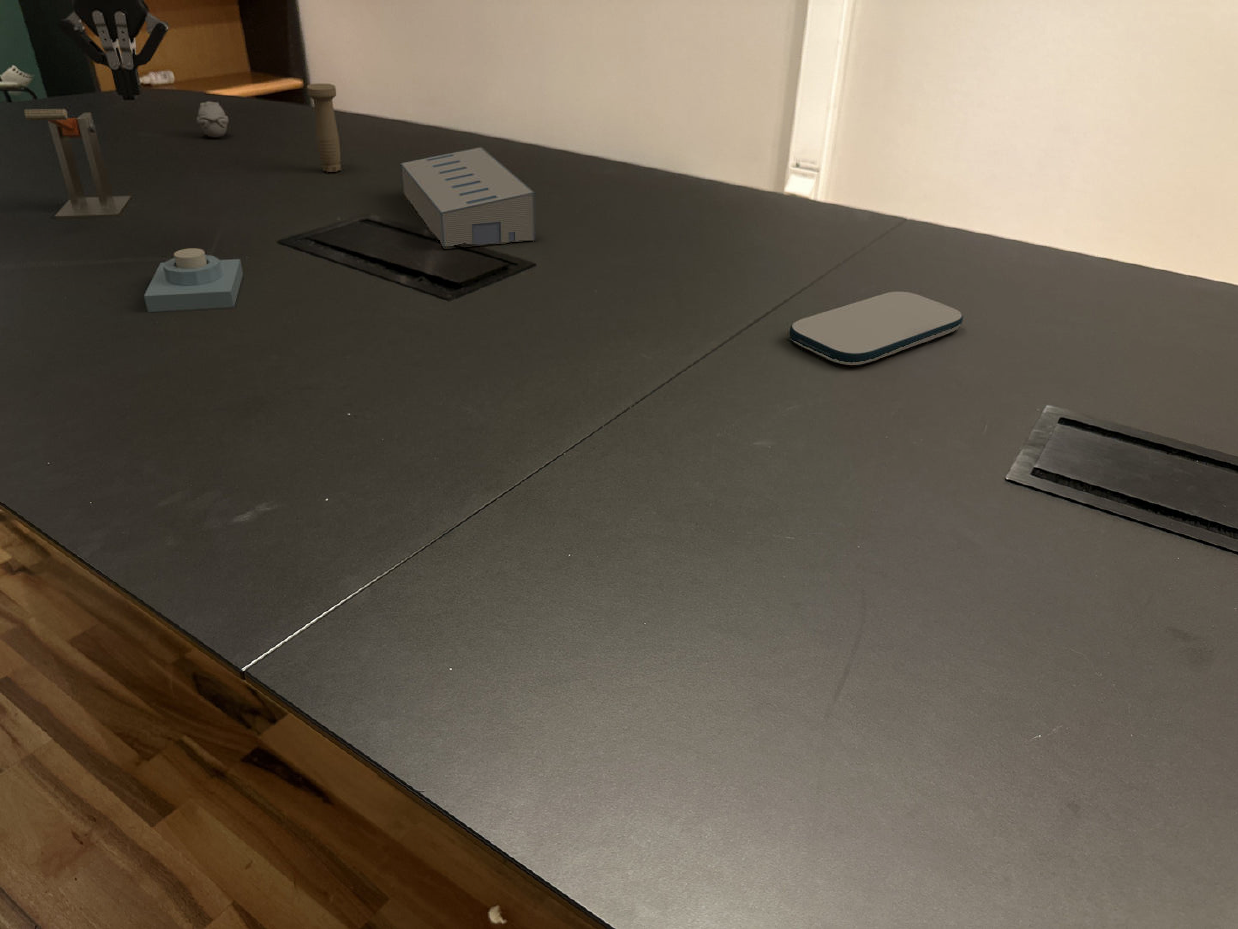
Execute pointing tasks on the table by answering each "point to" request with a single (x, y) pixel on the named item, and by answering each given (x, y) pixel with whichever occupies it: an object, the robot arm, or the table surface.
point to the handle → (326, 125)
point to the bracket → (78, 202)
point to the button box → (194, 286)
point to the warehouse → (469, 198)
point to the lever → (56, 120)
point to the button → (190, 258)
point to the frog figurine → (212, 119)
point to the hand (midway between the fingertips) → (131, 98)
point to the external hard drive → (874, 326)
